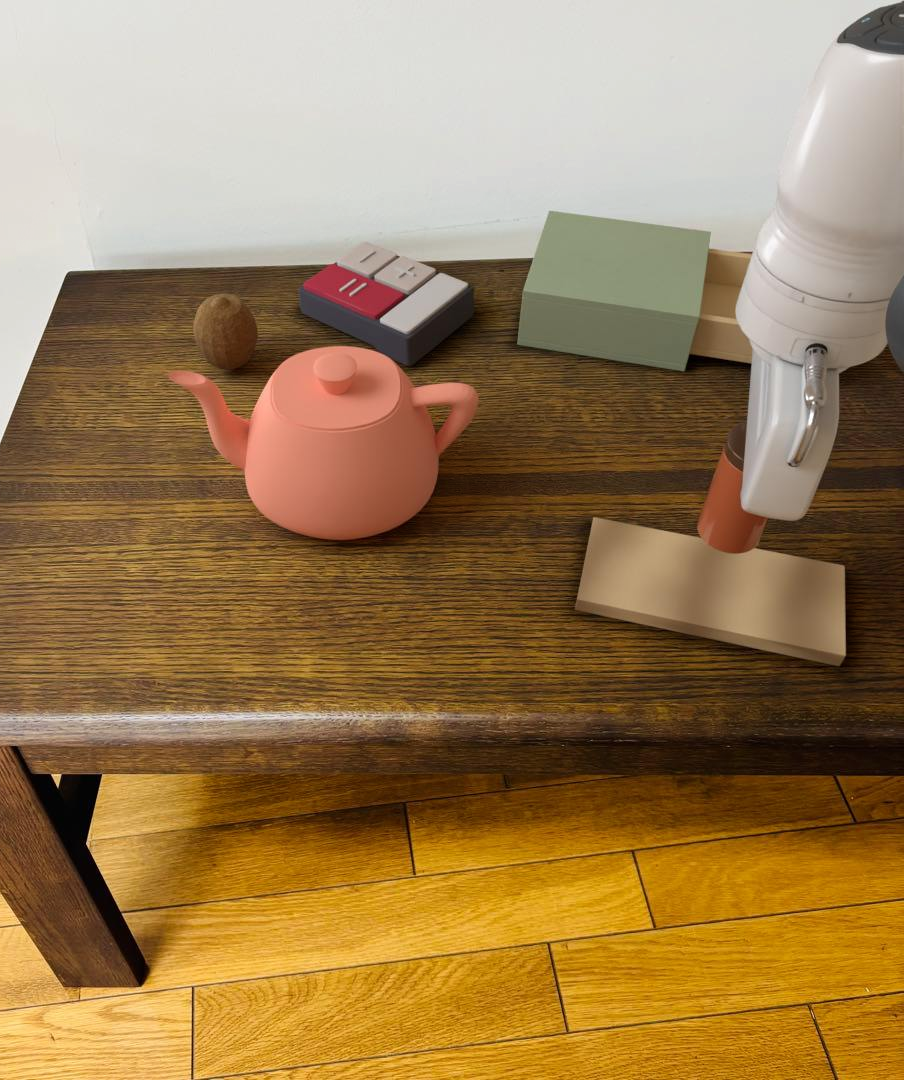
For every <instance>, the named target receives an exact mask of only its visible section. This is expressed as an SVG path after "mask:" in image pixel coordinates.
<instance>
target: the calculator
mask: <svg viewBox="0 0 904 1080" xmlns="http://www.w3.org/2000/svg"><path fill="white" fill-rule="evenodd" d="M297 292H298V299H299V305H300V312H301V314H302V315H304V316H307V317H309V318H311V319H314V320H316V321H318V322H319V323H322V324H324V325H327V326H329V327H331V328H333V329H336V330H337V331H340V332H342V333H344V334H346V335H349V336H351V337H353V338H355V339H357V340H360V341H362V342H364V343H366V344H368V345H371V346H372V347H374V348H375V349H376V350H377V352H379V353H381V354H383V355H385V356H387V357H389V358H390V359H391V360H393V361H394V362H395V361H396V362H398V363H400V364H402V365H404V366H407V367H412V366H414V365H415V364H416V363H417V362H418V361H420V360H421V359H422V358H424V357H425V356H426V355H427V354H429V352H431V351H433V350H434V349H435V348H436V347H437V346H439V344H440V343H442V342H443V341H444V340H445V339H447V338H448V337H449V336H451V334H453V333H454V332H455V331H456V330H458V329H459V328H460V327H462V326H463V325H464V324H465V323H466V322H467V321H469V320H470V319H471V318H472V317H473V316H474V313H475V311H474V310H475V309H474V307H475V287H474V285H473V284H471V283H469V282H466V281H463V280H461V279H459V278H457V277H453V276H451V275H449V274H446V273H443V272H440V271H438V270H436V268H434V267H433V266H429V265H427V264H425V263H422V262H419V261H417V260H414V259H411V258H409V257H406V256H403V255H401V256H399V255H398V254H397V253H396V252H393V251H391V250H388V249H386V248H383V247H381V246H378V245H376V244H373V243H371V242H368V241H362V242H361V243H359V244H358V245H356V246H355V247H353V248H352V249H350V250H348V251H347V252H346V253H345V254H343V255H342V256H341V257H339V258H338V259H337V260H336V262H334V263H331V264H329V265H327V266H326V267H325V268H323V269H322V270H321V271H319V272H318V273H316V274H315V275H313V276H312V277H310V278H309V279H307V280H306V281H304V282H303V284H302V285H301V286H300V287H298V289H297Z"/></svg>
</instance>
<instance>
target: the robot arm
mask: <svg viewBox="0 0 904 1080" xmlns="http://www.w3.org/2000/svg"><path fill="white" fill-rule="evenodd" d="M801 101H802V102H801V104H800V106H799V109H798V112H797V114H796V117H795V119H794V122H793V125H792V128H791V131H790V134H789V137H788V140H787V143H786V146H785V149H784V151H783V154H782V158H781V161H780V164H779V168H778V172H777V179H776V181H777V182H776V183H777V184H776V185H777V186H776V187H777V194H776V201H775V204H774V207H773V210H772V211H771V213H770V214H769V216H768V218H766V220H765V221H764V223H763V225H762V226H761V228H760V229H759V232H758V235H757V238H756V241H755V243H754V247H753V250H752V253H751V254H752V256H751V259H750V262H749V266H748V269H747V272H746V275H745V278H744V282H743V285H742V288H741V291H740V294H739V297H738V301H737V304H736V311H735V313H736V319H737V322H738V324H739V326H740V328H741V330H742V331H743V333H744V334H745V335H746V336H747V337H748V338H749V340H750V344H751V346H752V348H753V352H752V363H751V366H750V379H749V392H748V405H747V418H746V419H747V420H746V421H747V430H746V443H745V456H744V469H743V480H742V484H741V494H740V498H741V506H742V509H743V510H744V511H746V512H748V513H751V514H755V515H759V516H763V517H768V518H769V519H772V520H773V519H774V520H780V521H787V522H788V521H789V522H796V521H798V520H801V519H802V518H804V517H805V516H806V514H807V513H808V511H809V509H810V507H811V504H812V502H813V499H814V497H815V495H816V492H817V489H818V487H819V484H820V482H821V480H822V477H823V475H824V472H825V470H826V467H827V464H828V462H829V459H830V456H831V453H832V450H833V447H834V444H835V440H836V438H837V437H836V436H837V432H838V428H839V421H840V374H841V373H842V372H844V371H846V370H847V369H849V368H851V367H856V366H859V365H862V364H865V363H867V362H869V361H871V360H873V359H874V358H876V357H878V356H879V355H880V354H881V353H882V352H883V351H884V350H885V348H886V347H887V346H888V349H889V351H890V353H891V355H892V358H893V359H894V362H895V363H896V365H897V366H898V368H899V369H900V370H901V372H902V373H903V374H904V0H902V1H899V2H896V3H893V4H888V5H885V6H880V7H878V8H876V9H873V10H872V11H869V12H868V13H866V14H864V15H863V16H861V17H860V18H858V19H856V20H855V21H854V22H852V23H850V25H848V26H847V27H846V28H845V29H844V30H843V31H841V33H839V34H838V35H837V37H836V38H835V39H834V40H833V41H832V42H831V44H829V47H828V48H827V50H826V51H825V53H824V54H823V57H822V58H821V60H820V61H819V63H818V65H817V68H816V69H815V72H814V74H813V76H812V78H811V80H810V83H809V85H808V87H807V90H806V92H805V94H804V97H803V99H802V100H801Z"/></svg>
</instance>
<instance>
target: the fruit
mask: <svg viewBox="0 0 904 1080" xmlns="http://www.w3.org/2000/svg"><path fill="white" fill-rule="evenodd" d="M192 329H193V338H194V340H195V345H196V347H197V349H198V351H199V353H200V355H201V357H203V358H204V359H205V360H206V361H207V362H208V363H209V365H211V366H212V367H215V368H216V369H217V368H218V369H221V370H234V369H238V368H240V367H242V366H244V365H246V364H247V363H248V362H249V361H250V359H251V358H252V357H253V354H254V352H255V349H256V346H257V342H258V338H259V337H258V336H259V335H258V327H257V322H256V319H255V316H254V313H253V312H252V310H251V308H250V307H249V306H248V305H247V303H245V301H243V300H242V299H240V298H239V297H237V296H236V295H233V294H230V293H217V294H213V295H212V296H210V297H207V298H206V299H205V300H204V301H202V303H201V304H200V305H199V306H198V309H197V311H196V314H195V316H194V320H193V325H192Z"/></svg>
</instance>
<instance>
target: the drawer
mask: <svg viewBox="0 0 904 1080" xmlns="http://www.w3.org/2000/svg"><path fill="white" fill-rule="evenodd" d="M751 256H752V253H746V252H745V253H744V252H739V251H731V250H724V249H715V248H709V250H708V257H707V265H706V272H705V280H704V287H703V295H702V302H701V310H700V317H699V321H698V324H697V328H696V331H695V335H694V339H693V342H692V346H691V350H690V353H689V355H695V356H701V357H707V358H713V359H714V358H715V359H719V360H726V361H727V360H728V361H731V362H732V361H734V362H738V363H739V362H740V363H744V364H745V363H746V364H752V352H753V348H752V346H751V344H750V340H749V338H748V337H747V336H746V335H745V334H744V333H743V331H742V330H741V328H740V326H739V324H738V322H737V319H736V313H735V311H736V304H737V301H738V297H739V294H740V291H741V288H742V285H743V282H744V278H745V275H746V272H747V269H748V266H749V262H750V259H751Z"/></svg>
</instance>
